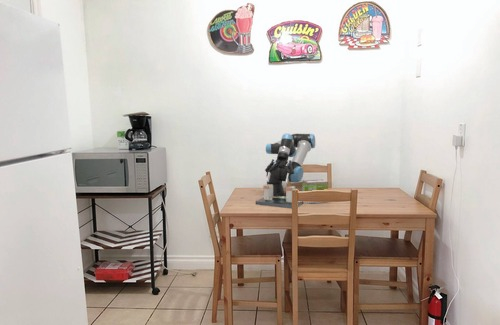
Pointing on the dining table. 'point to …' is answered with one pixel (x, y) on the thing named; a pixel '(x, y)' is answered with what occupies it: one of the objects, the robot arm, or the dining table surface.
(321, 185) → the tea box
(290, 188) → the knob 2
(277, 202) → the levelling base
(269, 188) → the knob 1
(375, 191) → the dining table surface
